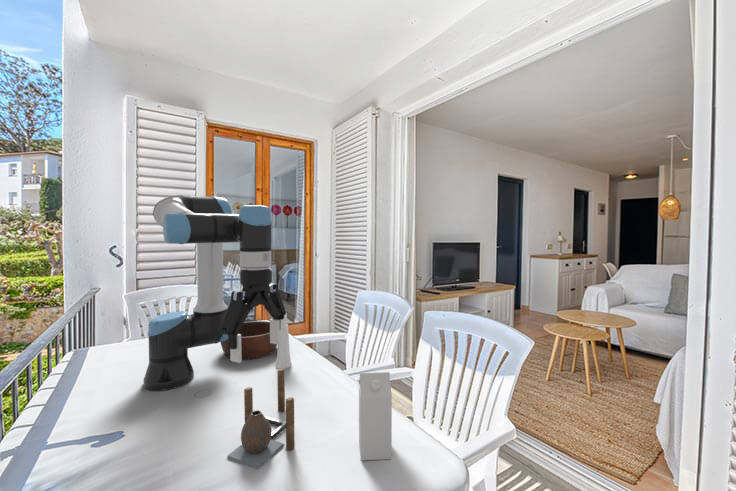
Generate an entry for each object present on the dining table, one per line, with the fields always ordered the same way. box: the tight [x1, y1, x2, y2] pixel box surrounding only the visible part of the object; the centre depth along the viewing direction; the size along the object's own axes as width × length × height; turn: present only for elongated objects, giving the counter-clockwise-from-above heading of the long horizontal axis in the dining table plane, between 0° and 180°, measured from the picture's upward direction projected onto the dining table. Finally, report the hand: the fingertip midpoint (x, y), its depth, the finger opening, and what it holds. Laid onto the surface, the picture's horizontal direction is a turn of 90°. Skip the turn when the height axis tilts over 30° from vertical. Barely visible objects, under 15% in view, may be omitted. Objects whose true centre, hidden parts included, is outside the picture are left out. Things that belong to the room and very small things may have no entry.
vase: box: [240, 410, 273, 454], centre depth 81 cm, size 7×7×9 cm
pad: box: [226, 439, 284, 470], centre depth 81 cm, size 9×9×1 cm
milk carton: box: [358, 371, 393, 461], centre depth 81 cm, size 7×7×19 cm
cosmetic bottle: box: [275, 311, 293, 370], centre depth 132 cm, size 6×6×22 cm
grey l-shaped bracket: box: [264, 415, 286, 440], centre depth 90 cm, size 10×6×1 cm, turn 66°
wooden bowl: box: [220, 320, 278, 361], centre depth 148 cm, size 25×25×10 cm
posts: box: [243, 368, 296, 452], centre depth 91 cm, size 15×15×12 cm
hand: (256, 351), depth 86 cm, fingers open, 13 cm apart
